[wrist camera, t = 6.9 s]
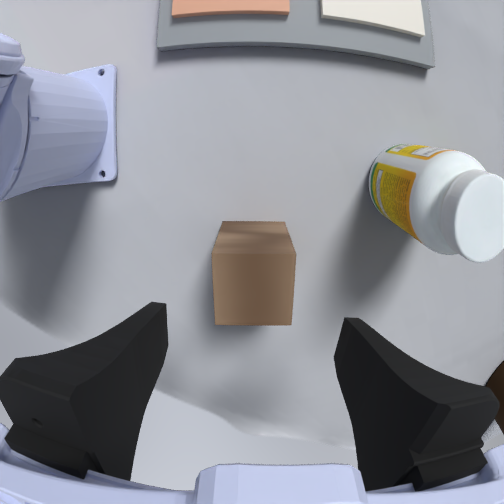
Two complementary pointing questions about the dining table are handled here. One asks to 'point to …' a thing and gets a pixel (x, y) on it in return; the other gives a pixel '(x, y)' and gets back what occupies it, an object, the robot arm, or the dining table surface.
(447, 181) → the supplement bottle
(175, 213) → the dining table surface
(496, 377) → the olive oil
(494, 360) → the dining table surface
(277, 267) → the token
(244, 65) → the dining table surface
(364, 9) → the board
